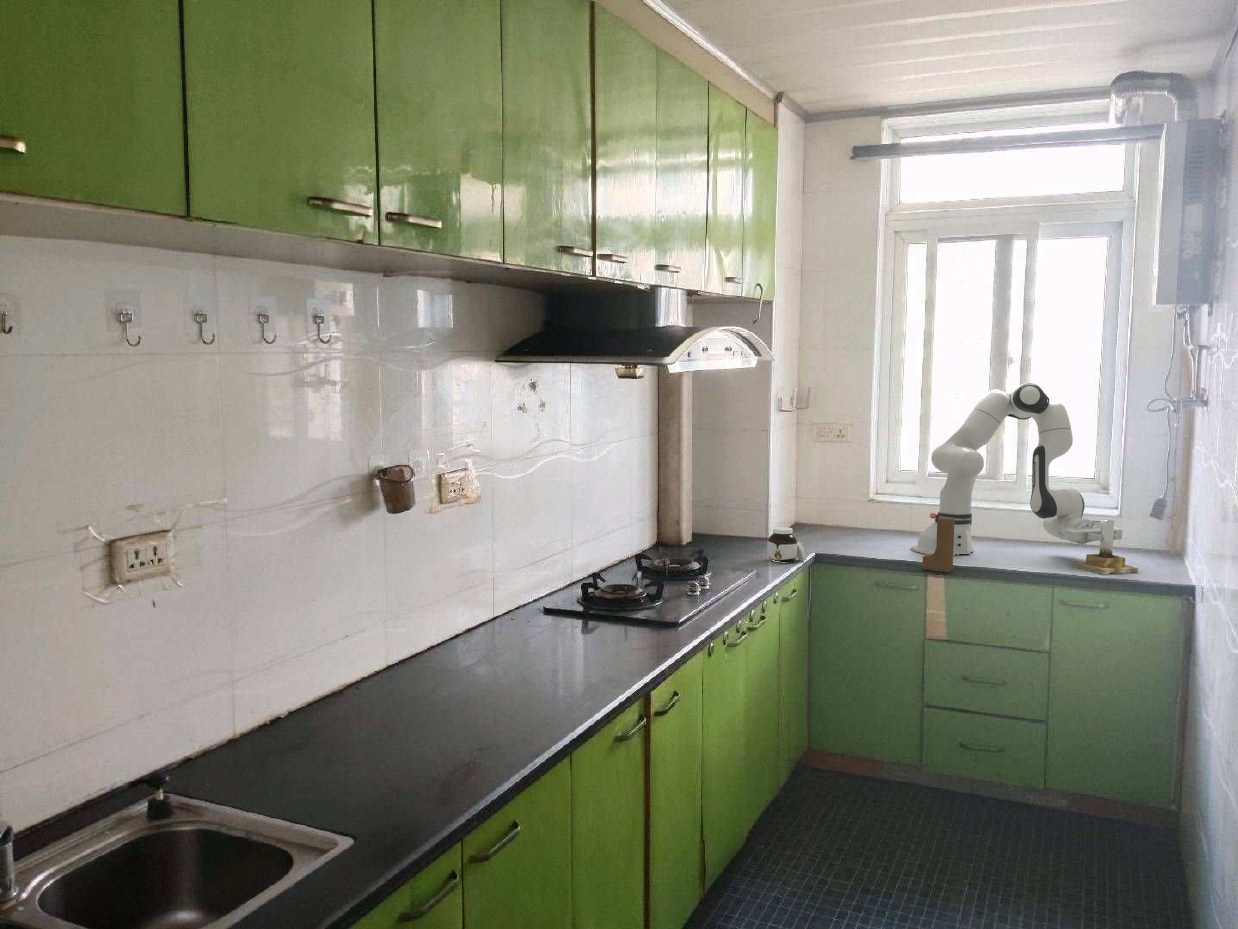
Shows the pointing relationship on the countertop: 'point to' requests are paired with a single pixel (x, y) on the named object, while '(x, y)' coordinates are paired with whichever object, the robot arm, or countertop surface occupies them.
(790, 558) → the spread jar
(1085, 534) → the robot arm
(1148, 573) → the countertop surface
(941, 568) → the wooden block
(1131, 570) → the socket block
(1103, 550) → the steel pin
